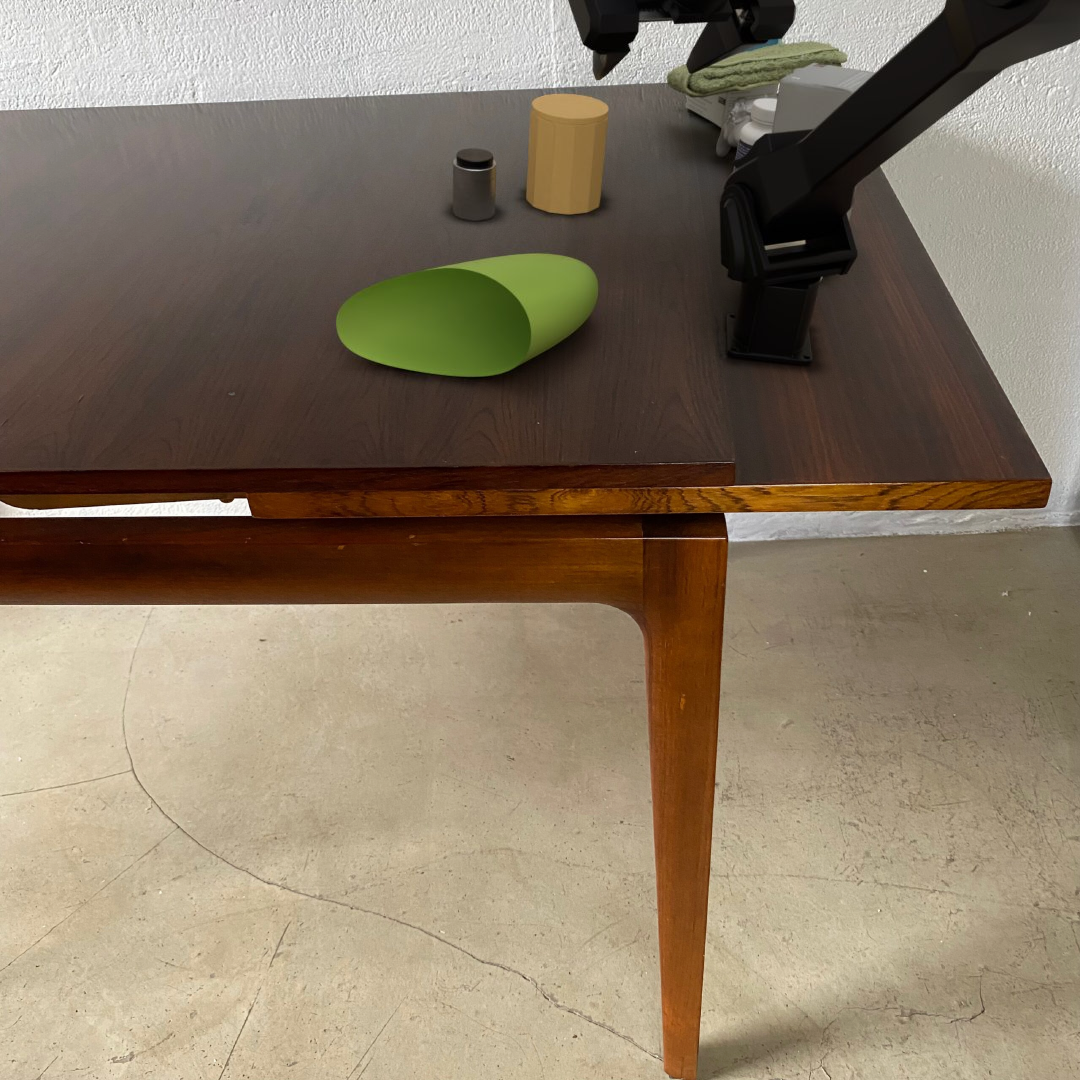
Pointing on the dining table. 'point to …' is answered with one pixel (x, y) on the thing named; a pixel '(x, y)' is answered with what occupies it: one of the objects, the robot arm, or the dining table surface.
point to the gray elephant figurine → (736, 124)
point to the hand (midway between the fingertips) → (643, 72)
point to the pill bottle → (756, 125)
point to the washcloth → (753, 68)
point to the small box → (726, 102)
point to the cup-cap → (566, 153)
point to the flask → (474, 184)
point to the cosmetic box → (814, 96)
